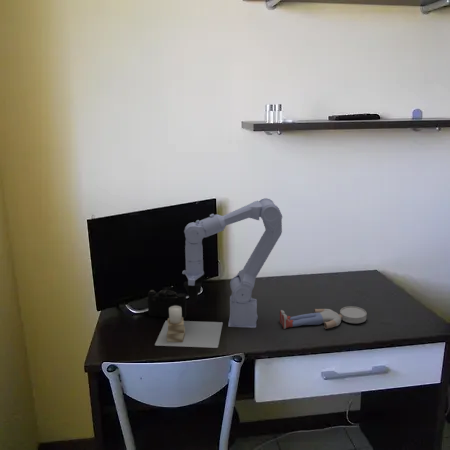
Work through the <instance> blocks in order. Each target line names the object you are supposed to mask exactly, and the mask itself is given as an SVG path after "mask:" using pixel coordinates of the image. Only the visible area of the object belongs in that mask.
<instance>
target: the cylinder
mask: <svg viewBox="0 0 450 450" xmlns="http://www.w3.org/2000/svg"><path fill="white" fill-rule="evenodd" d="M169 322H170V323H171V324H179V323H181V322H182V308H181V307H180V306H171V307H169Z"/></svg>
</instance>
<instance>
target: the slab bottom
mask: <svg viewBox="0 0 450 450" xmlns="http://www.w3.org/2000/svg"><path fill="white" fill-rule="evenodd" d="M184 337H185V326H184V333H177V334H168V332H167V342H183V340H184Z"/></svg>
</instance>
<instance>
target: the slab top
mask: <svg viewBox="0 0 450 450" xmlns="http://www.w3.org/2000/svg"><path fill="white" fill-rule="evenodd" d="M167 320H168V334H177V333H184V321H185V320H184V319H183V317H182V322H181V323H179V324H171V323H170V322H169V318H167Z"/></svg>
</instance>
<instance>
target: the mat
mask: <svg viewBox="0 0 450 450" xmlns="http://www.w3.org/2000/svg"><path fill="white" fill-rule="evenodd" d="M183 321H184V326H185V337H184V340H183V342H167V332H168V319H167V320H165V322H164V323H163V325H162V328H161V331H160V332H159V335H158V336H157V339H156V341H155V343H154V346H158V347H159V346H161V347H163V346H165V347H181V348H182V347H183V348H185V347H186V348H187V347H188V348H189V347H190V348H191V347H192V348H207V349H208V348H211V349H212V348H213V349H218V348H219V345H220V339H221V333H222V329H223V324H224V323H223V322H222V321H221V322H220V321H197V320H196V321H195V320H194V321H193V320H191V321H190V320H183Z"/></svg>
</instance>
